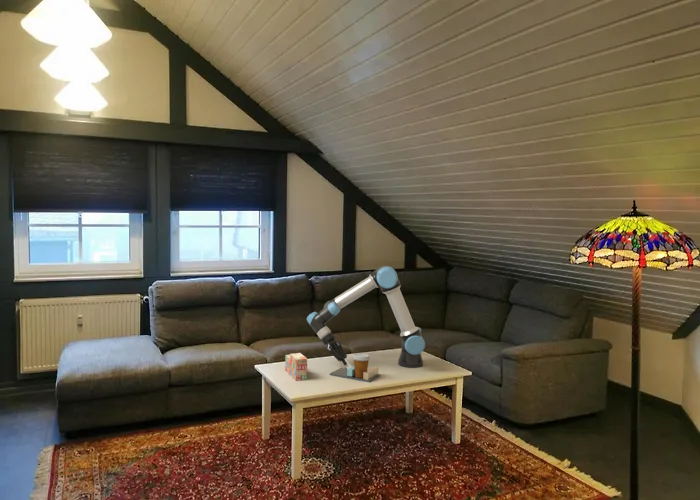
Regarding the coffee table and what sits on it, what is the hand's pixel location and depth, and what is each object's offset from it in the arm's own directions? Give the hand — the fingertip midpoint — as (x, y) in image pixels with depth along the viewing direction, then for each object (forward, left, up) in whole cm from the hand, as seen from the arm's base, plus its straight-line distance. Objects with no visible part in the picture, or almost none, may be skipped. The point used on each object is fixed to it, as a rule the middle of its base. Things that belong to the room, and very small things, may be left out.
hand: (350, 368), depth 318 cm
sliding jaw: (-2, +1, -2) cm, 4 cm away
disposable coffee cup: (-5, +6, -3) cm, 9 cm away
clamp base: (-3, +1, -4) cm, 4 cm away
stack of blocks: (+31, +2, -4) cm, 31 cm away
